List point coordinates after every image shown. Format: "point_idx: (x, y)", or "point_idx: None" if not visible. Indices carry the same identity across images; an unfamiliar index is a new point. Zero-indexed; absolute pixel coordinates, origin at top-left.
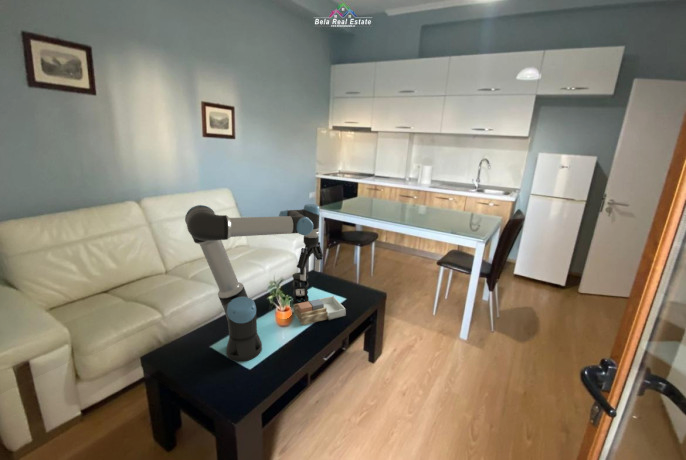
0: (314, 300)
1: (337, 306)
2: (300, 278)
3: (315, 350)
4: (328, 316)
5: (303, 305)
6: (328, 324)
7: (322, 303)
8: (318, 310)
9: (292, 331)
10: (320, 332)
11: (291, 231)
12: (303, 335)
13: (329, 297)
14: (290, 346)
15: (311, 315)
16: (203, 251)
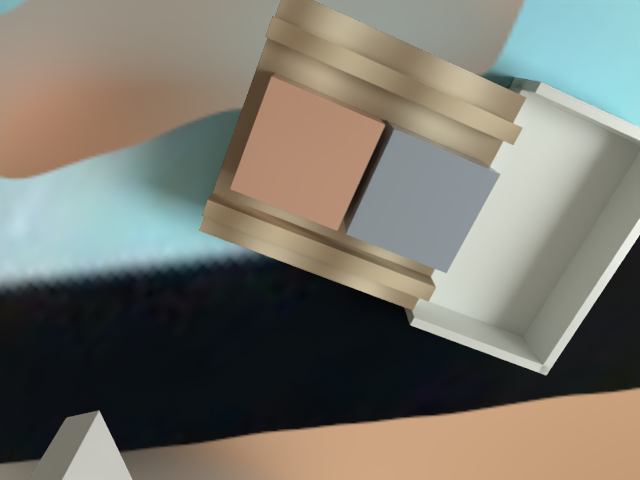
0: (441, 161)
1: (591, 237)
2: (57, 446)
3: None
4: None
5: (290, 154)
6: (354, 330)
7: (445, 259)
8: (357, 274)
9: (108, 215)
10: (247, 353)
11: None
12: (140, 301)
13: None
14: (7, 326)
15: (285, 252)
16: None
